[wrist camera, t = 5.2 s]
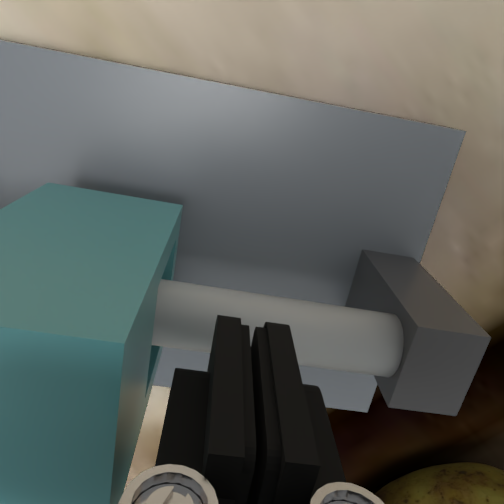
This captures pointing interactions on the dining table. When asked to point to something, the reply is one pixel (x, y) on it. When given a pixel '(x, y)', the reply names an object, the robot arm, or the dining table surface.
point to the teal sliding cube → (77, 338)
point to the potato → (447, 485)
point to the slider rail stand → (261, 217)
